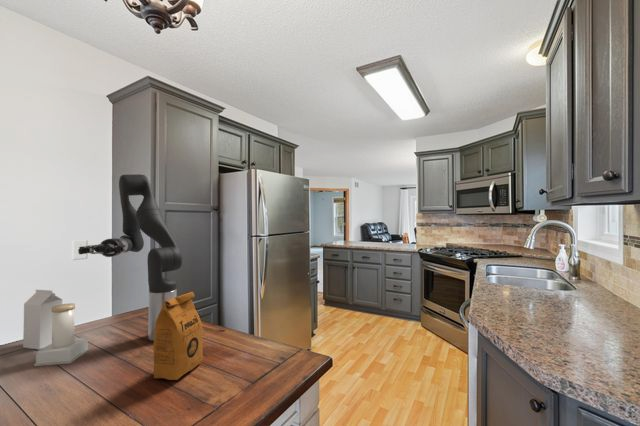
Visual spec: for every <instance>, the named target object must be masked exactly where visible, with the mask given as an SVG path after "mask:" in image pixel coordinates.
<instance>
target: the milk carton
mask: <svg viewBox="0 0 640 426" xmlns="http://www.w3.org/2000/svg"><path fill="white" fill-rule="evenodd" d="M61 304H63V299H62V298H61V297H59V296H58V295H56V293H55V292H53V290H48V289H35V293H34V294H33V295H32V296H30V297H29V299H27V301H25V302H24V303H23V333H22V334H23V336H22V337H23V339H22V340H23V341H22V342H23V343H22V345H23V346H22V347H23V348H24V349H32V350H41V349H42V348H44V347H46V346H47V345H49V344H51V343H52V307H54V306H57V305H61Z"/></svg>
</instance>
